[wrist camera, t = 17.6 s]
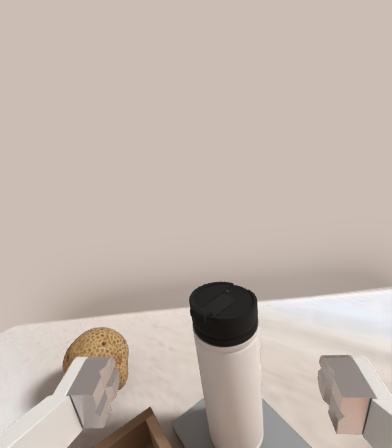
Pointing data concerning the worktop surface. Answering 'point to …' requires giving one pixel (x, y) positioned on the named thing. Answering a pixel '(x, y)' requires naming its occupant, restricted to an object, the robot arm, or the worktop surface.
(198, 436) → the mat
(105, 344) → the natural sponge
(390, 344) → the worktop surface
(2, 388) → the worktop surface
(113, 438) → the wooden box
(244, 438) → the travel mug
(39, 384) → the worktop surface
